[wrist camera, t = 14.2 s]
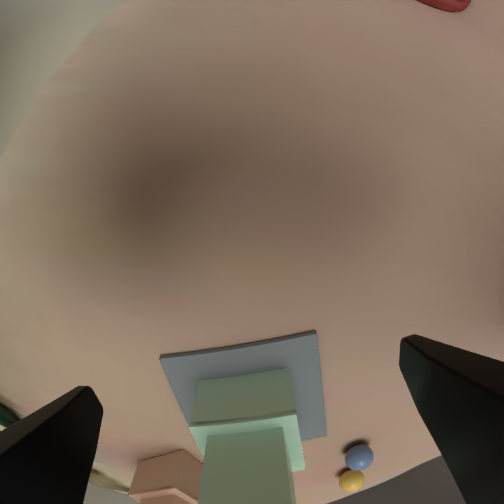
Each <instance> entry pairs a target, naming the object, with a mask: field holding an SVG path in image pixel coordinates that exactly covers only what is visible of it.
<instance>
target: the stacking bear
mask: <svg viewBox="0 0 504 504" xmlns="http://www.w3.org/2000/svg"><path fill="white" fill-rule="evenodd" d="M419 1H421V2H423V3H426V4H428V5H431V6H433V7H436V8H439V9H443V10H447V11H452V12H459V11H463V10H464V9H466V8H467V7H468V5H469V4H470V2H471V0H419Z"/></svg>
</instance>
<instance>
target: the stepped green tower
mask: <svg viewBox="0 0 504 504" xmlns="http://www.w3.org/2000/svg"><path fill="white" fill-rule="evenodd" d="M188 428H189V430H190V432H191V434H192V436H193V437H194V439H195V441H196V443H197V445H198V447H199V449H200V451H201V452H202V454H203V456H204V461H203V469H202V476H201V483H200V491H199V498H198V504H296V498H295V490H294V482H293V475H292V472H295V471H300V470H306V469H305V463H304V457H303V451H302V445H301V439H300V433H299V427H298V421H297V415H296V410H295V404H294V399H293V394H292V388H291V383H290V378H289V373H288V368H283V369H278V370H272V371H266V372H260V373H254V374H248V375H241V376H234V377H227V378H219V379H211V380H202V381H198V385H197V390H196V394H195V399H194V403H193V408H192V412H191V417H190V421H189V426H188Z"/></svg>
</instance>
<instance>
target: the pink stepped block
mask: <svg viewBox="0 0 504 504" xmlns="http://www.w3.org/2000/svg"><path fill="white" fill-rule="evenodd" d="M202 469H203V464H202V463H201V462H200V461H198V460H197V459H196V458H194V457H193V456H192V455H190V454H189V453H188V452H186V451H185V450H184V449H182V450H179V451H176V452H172V453H169V454H165V455H162V456H158V457H154V458H150V459H146V460H142V461H139V462H138V465H137V468H136V471H135V474H134V477H133V481H132V484H131V487H130V490H129V493H128V496H130V497H132V498H133V499H135V500H136V501H138V502H140V504H198V498H199V491H200V483H201V476H202Z"/></svg>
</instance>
